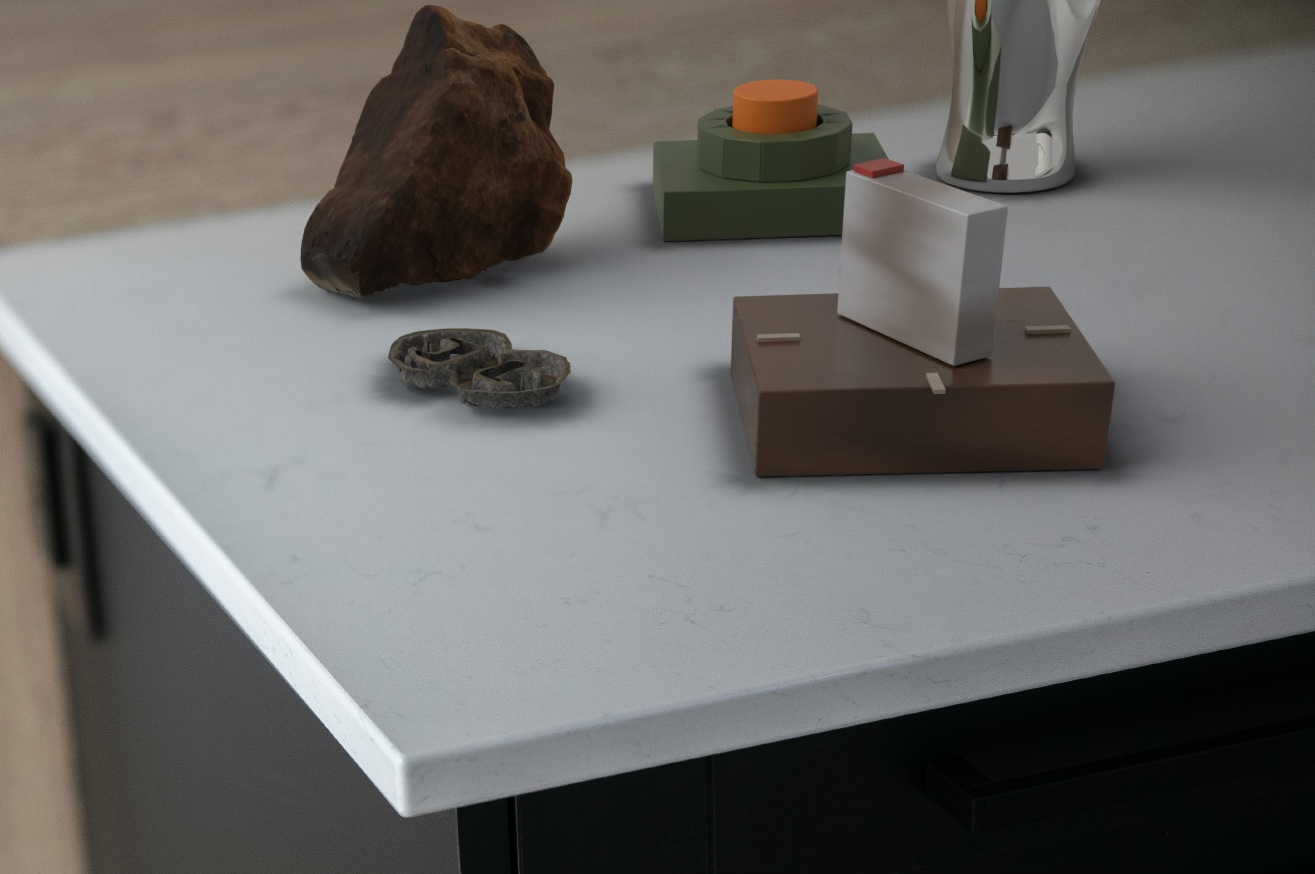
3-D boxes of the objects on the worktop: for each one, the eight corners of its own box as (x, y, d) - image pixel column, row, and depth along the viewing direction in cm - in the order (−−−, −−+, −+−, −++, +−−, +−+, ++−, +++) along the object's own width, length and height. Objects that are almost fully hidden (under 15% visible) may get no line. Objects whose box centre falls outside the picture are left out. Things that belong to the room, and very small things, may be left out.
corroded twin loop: (501, 433, 69) (500, 405, 68) (357, 374, 74) (355, 348, 74) (604, 392, 71) (604, 365, 71) (458, 338, 77) (457, 313, 76)
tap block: (1037, 359, 72) (1047, 275, 70) (1109, 477, 63) (1122, 384, 61) (728, 368, 73) (731, 285, 71) (756, 485, 64) (761, 394, 63)
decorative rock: (517, 228, 89) (513, -22, 84) (599, 261, 84) (600, -1, 79) (284, 286, 84) (264, 26, 79) (358, 325, 79) (342, 51, 74)
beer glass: (920, 194, 89) (950, -162, 82) (930, 151, 95) (959, -186, 88) (1084, 199, 87) (1130, -166, 80) (1084, 155, 93) (1127, -190, 86)
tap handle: (992, 356, 64) (1009, 198, 62) (953, 367, 64) (968, 207, 61) (873, 304, 69) (885, 155, 66) (836, 313, 69) (845, 164, 66)
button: (810, 117, 88) (812, 77, 88) (821, 139, 85) (823, 98, 84) (728, 120, 89) (730, 80, 88) (736, 142, 86) (737, 101, 85)
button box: (870, 179, 92) (877, 92, 90) (899, 233, 85) (906, 140, 83) (652, 188, 93) (653, 102, 91) (662, 241, 86) (664, 150, 84)
